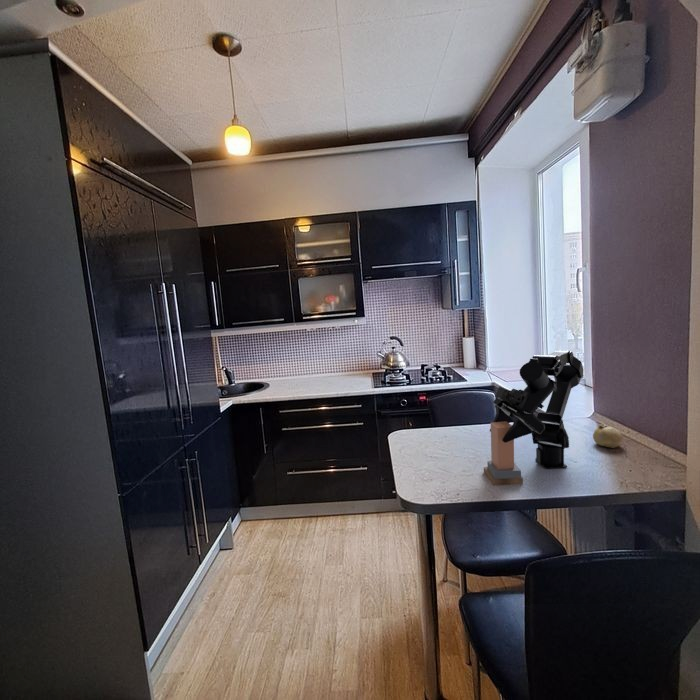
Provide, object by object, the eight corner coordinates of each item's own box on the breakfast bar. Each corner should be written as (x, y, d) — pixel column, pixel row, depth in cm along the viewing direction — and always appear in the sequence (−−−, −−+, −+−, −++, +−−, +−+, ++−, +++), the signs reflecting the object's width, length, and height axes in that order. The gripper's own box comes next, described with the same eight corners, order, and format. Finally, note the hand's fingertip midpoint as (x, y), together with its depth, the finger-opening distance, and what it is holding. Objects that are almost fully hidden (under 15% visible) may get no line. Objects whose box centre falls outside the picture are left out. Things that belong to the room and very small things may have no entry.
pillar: (506, 461, 107) (506, 421, 105) (514, 468, 102) (513, 426, 101) (491, 462, 107) (490, 422, 105) (498, 469, 102) (497, 428, 101)
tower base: (511, 472, 109) (510, 465, 109) (523, 485, 101) (522, 478, 101) (483, 474, 109) (483, 467, 109) (493, 487, 101) (493, 479, 101)
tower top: (512, 467, 108) (512, 459, 107) (521, 478, 101) (521, 470, 100) (487, 467, 108) (487, 460, 108) (494, 479, 101) (494, 471, 101)
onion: (613, 440, 125) (613, 420, 124) (628, 450, 117) (628, 428, 116) (588, 441, 126) (588, 421, 125) (601, 450, 118) (601, 429, 117)
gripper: (498, 370, 111) (464, 409, 112) (532, 383, 93) (491, 429, 93) (524, 394, 112) (490, 432, 113) (563, 410, 94) (522, 456, 95)
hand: (496, 436), depth 103 cm, fingers open, 7 cm apart
